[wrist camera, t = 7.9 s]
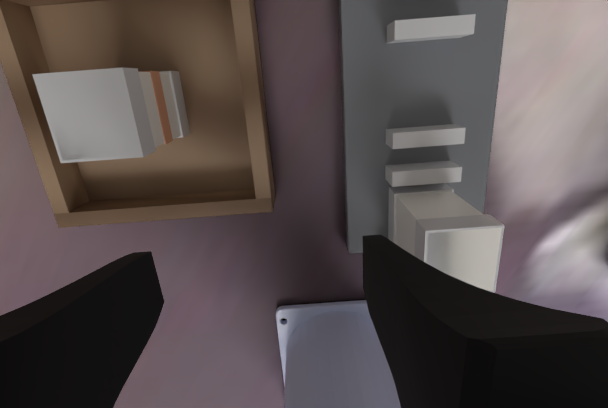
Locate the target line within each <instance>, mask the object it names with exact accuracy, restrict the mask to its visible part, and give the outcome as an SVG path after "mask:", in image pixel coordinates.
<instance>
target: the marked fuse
mask: <svg viewBox="0 0 608 408" xmlns="http://www.w3.org/2000/svg"><path fill="white" fill-rule="evenodd" d="M32 75H33V78H34V81H35V85H36V88H37V91H38V94H39V97H40V100H41V103H42V106H43V109H44V113H45V116H46V119H47V122H48V125H49V128H50V131H51V134H52V137H53V141H54V144H55V147H56V150H57V153H58V156H59V159H60V162H61V163H71V162H85V161H99V160H112V159H126V158H140V157H145V156H147V155H149V154H151V153H153V152H155V151H156V149H155V148H156V147H158V146H160V145H162V144H168V143H170V142H172V141H173V139H175V138H181V137H185V136H187V135H189V134H190V130H189V124H188V119H187V113H186V108H185V102H184V97H183V91H182V86H181V80H180V75H179V71H162V72H159V71H143V72H138V69H137V68H123V67H122V68H109V69H95V70H82V71H69V72H56V73H42V74H32Z"/></svg>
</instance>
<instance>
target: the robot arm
mask: <svg viewBox="0 0 608 408" xmlns="http://www.w3.org/2000/svg"><path fill="white" fill-rule="evenodd" d="M363 288H364V293H365V298H366V300H359V301H345V302H331V303H317V304H302V305H288V306H280V307H278V308H277V310H276V323H277V331H278V339H279V347H280V355H281V363H282V371H283V379H284V388H285V391H284V408H608V322H607V321H605V320H604V319H602V318H597V317H591V316H586V315H581V314H576V313H570V312H565V311H560V310H555V309H550V308H546V307H542V306H538V305H534V304H530V303H526V302H522V301H518V300H515V299H512V298H508V297H505V296H502V295H499V294H496V293H493V292H490V291H487V290H484V289H481V288H478V287H476V286H473V285H471V284H468V283H466V282H464V281H461V280H459V279H457V278H454V277H452V276H450V275H448V274H446V273H444V272H442V271H440V270H438V269H436V268H434V267H432V266H431V265H429V264H427V263H425V262H423V261H422V260H420V259H418V258H417V257H415V256H413V255H412V254H410V253H409V252H407V251H406V250H404V249H402V248H401V247H399V246H398V245H396V244H395V243H393V242H392V241H390V240H389V239H387V238H386V237H384V236H383V235H381V234H380V235H367V236H363ZM163 304H164V299H163V295H162V291H161V288H160V284H159V280H158V276H157V272H156V269H155V265H154V261H153V257H152V253H151V252H138V253H132V254H129V255H126V256H124V257H122V258H119V259H117V260H115V261H113V262H111V263H109V264H107V265H105V266H103V267H102V268H100V269H98V270H96V271H94V272H92V273H90V274H88V275H86V276H84V277H83V278H81V279H79V280H77V281H75V282H73V283H71V284H69V285H67V286H65V287H63V288H61V289H59V290H57V291H55V292H53V293H51V294H49V295H47V296H45V297H43V298H40V299H38V300H36V301H34V302H32V303H29V304H27V305H25V306H23V307H20V308H18V309H16V310H13V311H11V312H8V313H6V314H4V315H1V316H0V408H113V406H114V404H115V402H116V400H117V398H118V396H119V394H120V392H121V390H122V388H123V386H124V384H125V382H126V380H127V379H128V377H129V375H130V373H131V371H132V369H133V368H134V366H135V364H136V362H137V360H138V358H139V357H140V355H141V353H142V351H143V349H144V347H145V346H146V344H147V342H148V340H149V338H150V336H151V334H152V332H153V330H154V328H155V326H156V324H157V321H158V318H159V316H160V313H161V310H162V307H163ZM282 318H285V319H287V320H285V321H282V320H281V319H282Z"/></svg>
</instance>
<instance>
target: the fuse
mask: <svg viewBox="0 0 608 408" xmlns="http://www.w3.org/2000/svg"><path fill="white" fill-rule="evenodd" d="M504 226H505V225H504V224H502V223H501V222H499V221H498V220H497V219H495V218H494V217H492V216H491V215H489V214H485V215H484V214H482V213H481V212H480V211H478V210H477V209H476V208H474V207H473V206H471V205H470V204H469V203H467V202H466V201H464V200H463V199H462V198H460V197H459V196H458V195H456V194H455V193H454V189H453V188H451V187H450V186H448V185H447V184H445V183H439V184H426V185H413V186H399V187H389V214H388V238H389V240H390V241H392V242H393V243H395V244H396V245H398V246H399V247H401V248H402V249H404V250H406V251H407V252H409V253H410V254H412V255H413V256H415V257H417V258H418V259H420V260H422V261H423V262H425V263H427V264H429V265H431V266H432V267H434V268H436V269H438V270H440V271H442V272H444V273H446V274H448V275H450V276H452V277H454V278H457V279H459V280H461V281H464V282H466V283H468V284H471V285H473V286H476V287H478V288H481V289H484V290H487V291H490V292H495V290H496V283H497V276H498V269H499V262H500V254H501V247H502V240H503V233H504Z"/></svg>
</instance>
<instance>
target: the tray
mask: <svg viewBox="0 0 608 408" xmlns="http://www.w3.org/2000/svg"><path fill="white" fill-rule="evenodd" d="M0 61H1V64H2V67H3V70H4V73H5V75H6V78H7V81H8V84H9V87H10V90H11V93H12V95H13V98H14V101H15V104H16V107H17V110H18V113H19V115H20V118H21V121H22V124H23V127H24V130H25V133H26V136H27V138H28V141H29V144H30V147H31V150H32V153H33V156H34V158H35V161H36V164H37V167H38V170H39V173H40V176H41V178H42V181H43V184H44V187H45V190H46V193H47V196H48V198H49V201H50V204H51V207H52V210H53V213H54V216H55V218H56V221H57V224H58V227H59V228H60V227H74V226H87V225H101V224H114V223H128V222H142V221H155V220H169V219H182V218H196V217H209V216H223V215H236V214H250V213H263V212H273V208H274V202H275V197H276V196H275V187H274V177H273V168H272V159H271V149H270V140H269V131H268V122H267V112H266V103H265V94H264V84H263V75H262V66H261V56H260V47H259V38H258V29H257V19H256V10H255V1H254V0H0ZM122 67H123V68H137V69H138V72H143V71H159V72H162V71H179V75H180V80H181V86H182V91H183V97H184V102H185V108H186V113H187V119H188V124H189V130H190V134H189V135H187V136H185V137H181V138H175V139H173V141H172V142H170V143H168V144H162V145H160V146H158V147H156V148H155V149H156V151H155V152H153V153H151V154H149V155H147V156H145V157H140V158H126V159H112V160H99V161H85V162H71V163H61V162H60V159H59V156H58V153H57V150H56V147H55V144H54V141H53V137H52V134H51V131H50V128H49V125H48V122H47V119H46V116H45V113H44V109H43V106H42V103H41V100H40V97H39V94H38V91H37V88H36V85H35V81H34V78H33V75H32V74H42V73H56V72H69V71H82V70H95V69H109V68H122Z"/></svg>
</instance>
